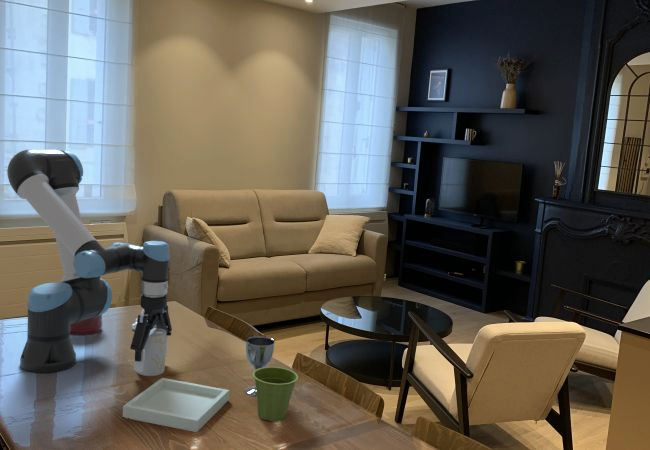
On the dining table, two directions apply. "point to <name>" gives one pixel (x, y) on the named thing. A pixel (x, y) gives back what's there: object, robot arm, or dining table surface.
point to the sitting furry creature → (136, 321)
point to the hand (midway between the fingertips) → (150, 363)
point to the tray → (176, 404)
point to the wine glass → (258, 355)
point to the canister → (87, 326)
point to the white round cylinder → (155, 353)
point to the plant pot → (274, 391)
